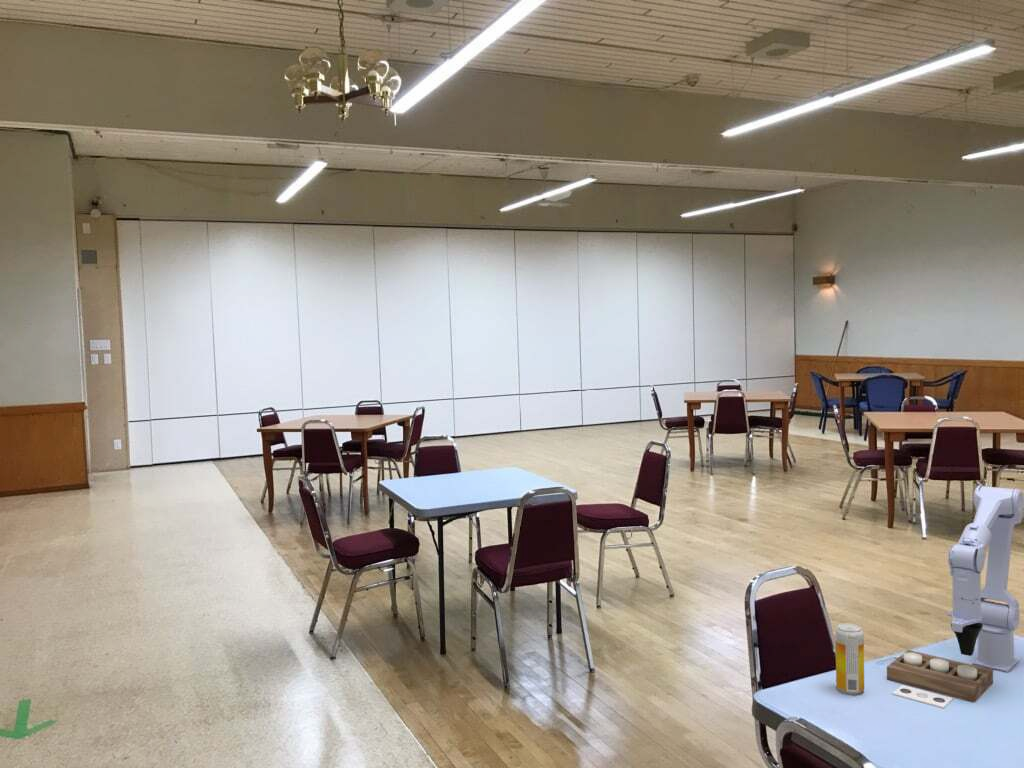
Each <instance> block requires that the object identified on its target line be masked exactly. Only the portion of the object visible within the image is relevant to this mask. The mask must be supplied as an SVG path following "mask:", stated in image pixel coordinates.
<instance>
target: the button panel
mask: <svg viewBox="0 0 1024 768" xmlns="http://www.w3.org/2000/svg"><path fill="white" fill-rule="evenodd" d="M908 652H912V653H917V654H920V655H921V656H922V666H921V667H917V666H913V665H909V664H904V653H908ZM904 653H902V654H901V655H900V656H898V658H896V659H894V660H893V661H892V662H891V663H889V664H888V665H886V680H888V681H892V682H895V683H899V684H901V685H905V686H909V687H913V688H916V689H920V690H924V691H928V692H932V693H935V694H939V695H943V696H947V697H951V698H956V699H960V700H963V701H967V702H971V703H975V702H977V701H978V699H980V697H981V696H982V695H983V694H985V692H986V691H987V690H988V689H989V688H990V687H991V686H992V685H993V684H994V669H992V668H988V667H984V666H980V665H975V664H972V663H971V664H970V663H965V662H962V661H957V660H953V659H950V658H945V657H940V656H937V655H932V654H927V653H924V652H919V651H915V650H911V649H908V650H906V651H904ZM931 659H943V660H946V661H948V662H949V673H948V674H945V673H941V672H937V671H933V670H930V660H931ZM959 665H968V666H972V667H975V668H976V669H977V680H976V681H974V680H969V679H965V678H961V677H957V667H958V666H959Z"/></svg>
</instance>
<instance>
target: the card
mask: <svg viewBox="0 0 1024 768" xmlns="http://www.w3.org/2000/svg"><path fill="white" fill-rule="evenodd" d="M891 694H892V695H894V696H896V697H900V698H905V699H908V700H910V701H911V700H912V701H915V702H918V703H922V704H925V705H930V706H933V707H937V708H941V709H945V708H946V707H947V706H948V705H949V704H950V703H951V702H953V700H954V699H953V698H954V697H951V696H947V695H943V694H940V693H936V692H932V691H928V690H924V689H921V688H917V687H913V686H909V685H906V684H901V685H900V686H899V687H898V688H896V689H895V690H894V691H892V693H891Z"/></svg>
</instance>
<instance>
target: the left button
mask: <svg viewBox="0 0 1024 768" xmlns="http://www.w3.org/2000/svg"><path fill="white" fill-rule="evenodd" d="M903 654H904V664H909V665H913V666H917V667H921V666H922V656H921V655H920V654H917V653H912V652H908V653H905V652H903Z"/></svg>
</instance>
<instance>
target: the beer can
mask: <svg viewBox="0 0 1024 768" xmlns="http://www.w3.org/2000/svg"><path fill="white" fill-rule="evenodd" d="M864 634H865V633H864V630H863V628H862V626H860V625H858V624H855V623H848V622H846V623H844V622H843V623H838V625H836V628H835V679H836V680H835V684H836V688H838V690H839V691H840V693H842V694H843V693H844V694H846V695H851V696H853V695H860V693H861V694H862V692H863V691H864V690H865V640H864V638H865V637H864Z"/></svg>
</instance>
